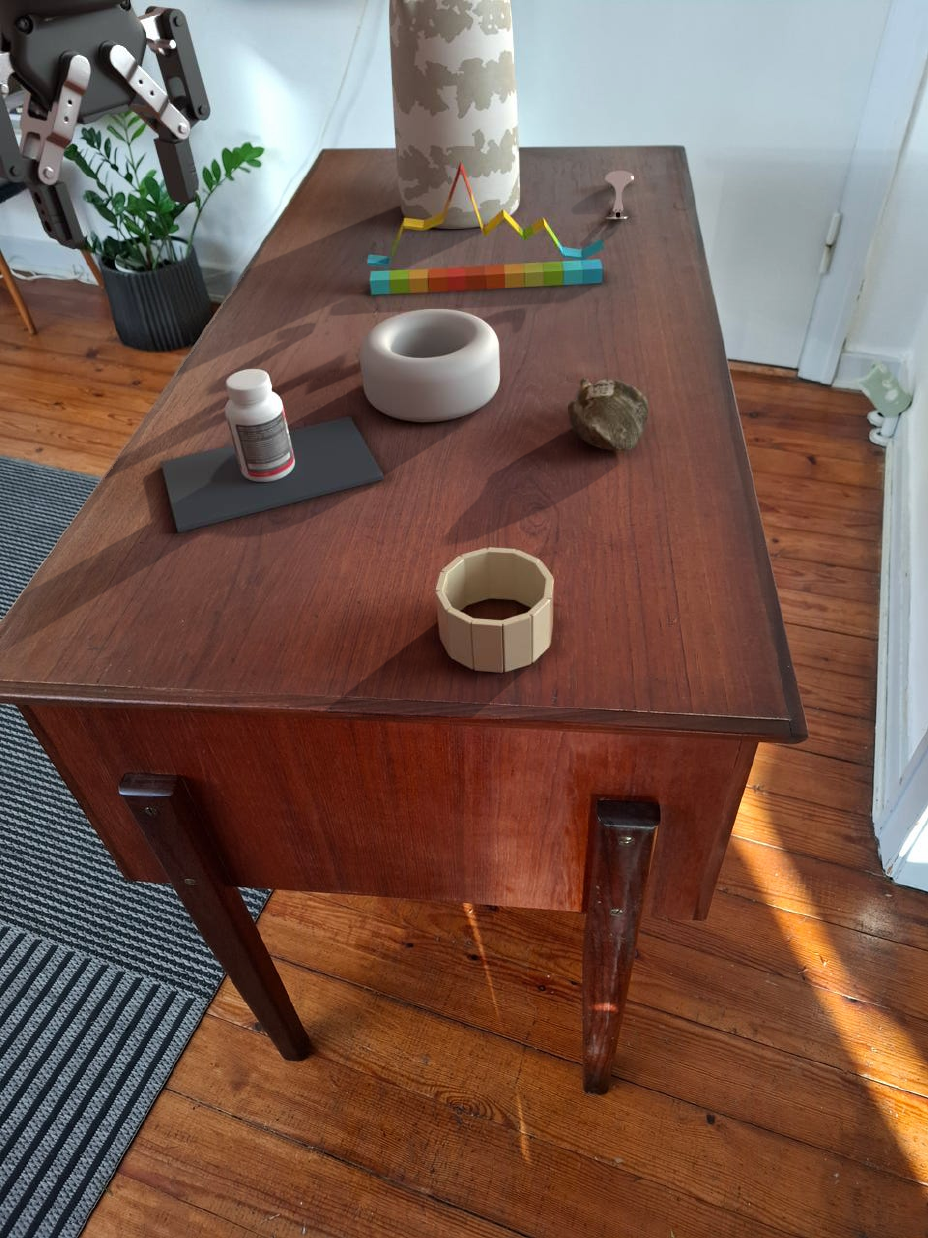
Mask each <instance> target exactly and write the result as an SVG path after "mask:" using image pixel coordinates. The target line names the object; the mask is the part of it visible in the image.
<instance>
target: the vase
mask: <svg viewBox="0 0 928 1238" xmlns="http://www.w3.org/2000/svg"><path fill="white" fill-rule="evenodd" d="M388 4H389V5H388V28H389V29H388V30H389V52H390V71H391V73H390V74H391V93H392V112H393V127H394V128H393V130H394V142H395V143H394V144H395V145H394V146H395V157H396V170H397V180H398V181H397V182H398V193H399V204H400V210H401V212H402V214H403V216H404V218H410V219H418V220H426V219H428V218H431V217H433V216H435V215H438V214H440V213H443V212H444V209H445V206H446V203H447V200H448V197H449V194H450V191H451V188H452V185H453V182H454V179H455V176H456V173H457V170H458V168H459V165H460V162H461V163H462V166H463V169H464V171H465V174H466V177H467V180H468V183H469V186H470V189H471V194H472V195H473V198H474V201H475V204H476V207H477V210H478V213H479V215H480V218H481V221H482V224H483V227H485V226H486V225H487V224H488V223H489V222H490V221H491V220H492V219H493V218H494V217H495V216H496V215H497V214H498V213H499V212H500V211H501V210H502V209H504V210H505V211H506V212H507V213H508V215H509V216H510V217H511V216H512V215H513V214H514V213H516V211H517V210H518V208H519V206H520V201H521V185H520V183H521V182H520V144H519V143H520V141H519V119H518V117H519V116H518V99H517V97H518V96H517V82H516V65H515V48H514V47H515V45H514V33H513V32H514V31H513V18H512V17H513V16H512V15H513V14H512V5H511V0H389V1H388ZM503 216H504V213H503ZM479 227H480V225H479V222H478V219H477V216H476V213H475V210H474V207H473V204H472V201H471V198H470V196H469V193H468V190H467V187H466V184H465V181H464V178H463V175H462V172H460V175H459V178H458V181H457V184H456V187H455V190H454V193H453V196H452V198H451V201H450V204H449V207H448V210H447V213H446V216H445V219H444V222H443V223H441V224H439V225H437V226H434V227H432V228H433V229H442V230H461V229H472V228H473V229H474V228H479Z"/></svg>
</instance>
